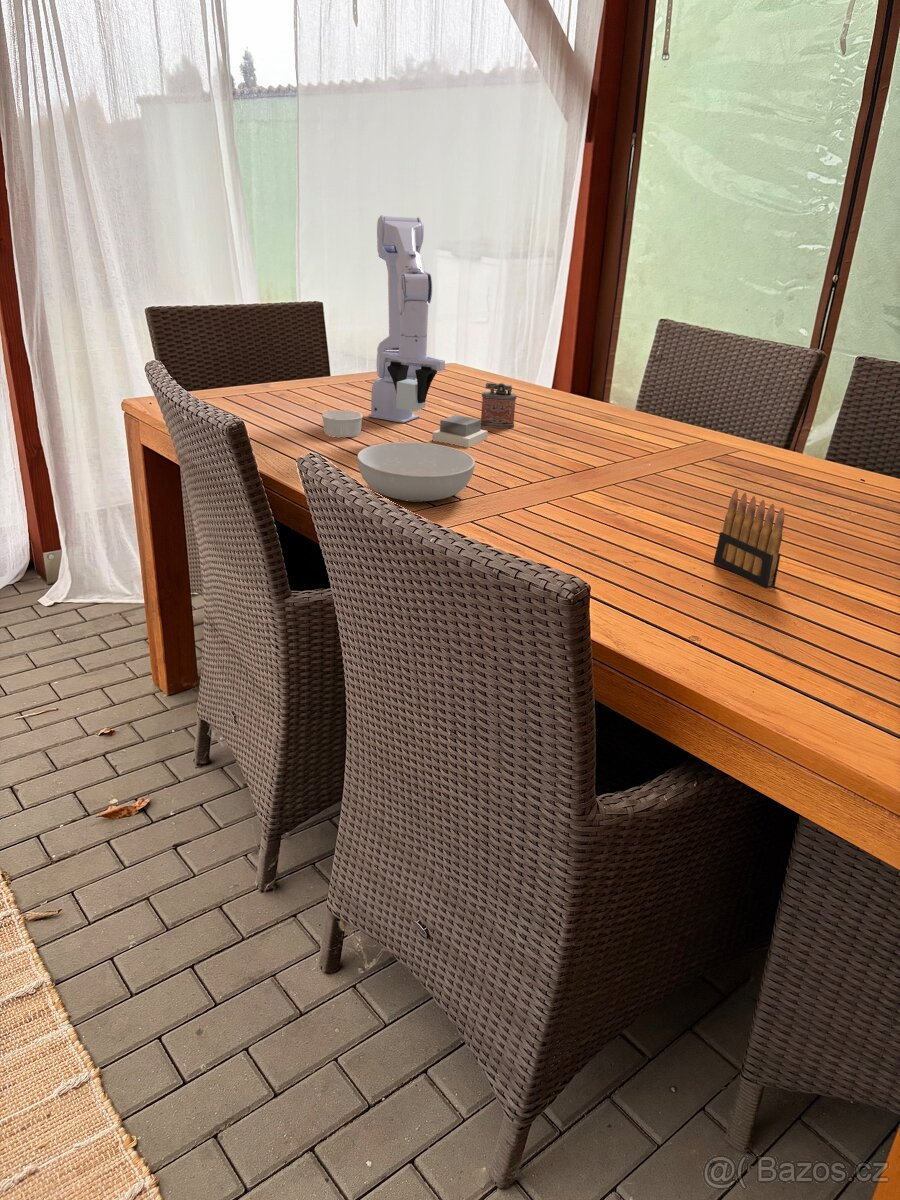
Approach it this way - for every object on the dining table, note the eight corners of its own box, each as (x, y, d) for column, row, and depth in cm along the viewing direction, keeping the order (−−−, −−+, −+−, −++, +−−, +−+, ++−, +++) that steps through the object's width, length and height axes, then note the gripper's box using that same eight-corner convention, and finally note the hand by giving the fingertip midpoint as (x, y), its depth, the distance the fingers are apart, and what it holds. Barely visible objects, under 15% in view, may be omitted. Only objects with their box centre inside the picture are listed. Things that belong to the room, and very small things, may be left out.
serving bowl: (385, 519, 147) (386, 479, 144) (339, 482, 164) (339, 446, 161) (494, 506, 156) (496, 468, 154) (440, 472, 173) (441, 437, 170)
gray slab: (439, 431, 194) (440, 420, 193) (455, 425, 200) (455, 414, 198) (465, 436, 191) (466, 425, 190) (480, 430, 197) (481, 419, 196)
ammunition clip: (712, 562, 137) (727, 488, 132) (721, 560, 138) (736, 486, 133) (766, 588, 129) (783, 510, 124) (774, 586, 130) (792, 508, 125)
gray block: (396, 407, 189) (396, 381, 187) (407, 404, 193) (408, 378, 191) (414, 411, 188) (415, 385, 185) (425, 407, 191) (426, 381, 189)
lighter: (514, 425, 211) (517, 382, 206) (513, 428, 208) (517, 385, 203) (480, 422, 211) (483, 380, 207) (479, 426, 208) (482, 383, 204)
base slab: (432, 443, 195) (432, 432, 194) (451, 435, 202) (451, 424, 201) (468, 450, 191) (469, 439, 190) (486, 441, 198) (487, 430, 197)
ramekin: (314, 435, 193) (314, 415, 192) (334, 427, 201) (334, 407, 199) (350, 441, 191) (350, 421, 189) (369, 432, 198) (369, 413, 196)
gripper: (373, 332, 184) (372, 398, 190) (434, 341, 178) (431, 409, 183) (391, 329, 189) (390, 393, 195) (451, 337, 183) (447, 403, 189)
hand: (411, 400), depth 190 cm, fingers closed on gray block, 4 cm apart
